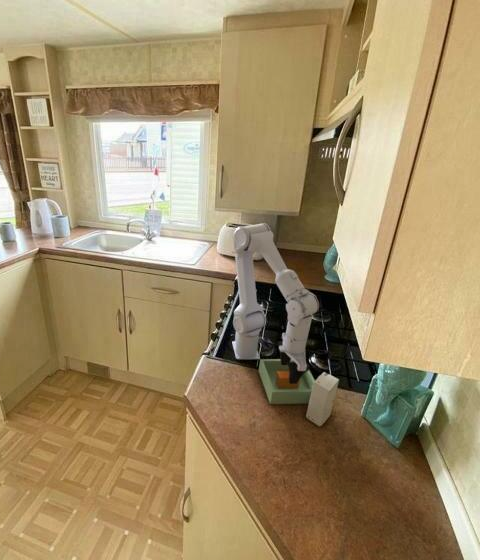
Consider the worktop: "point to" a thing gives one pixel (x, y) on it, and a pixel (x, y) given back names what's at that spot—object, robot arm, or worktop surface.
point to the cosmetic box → (322, 398)
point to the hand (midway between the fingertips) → (288, 373)
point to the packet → (284, 380)
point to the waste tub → (284, 395)
